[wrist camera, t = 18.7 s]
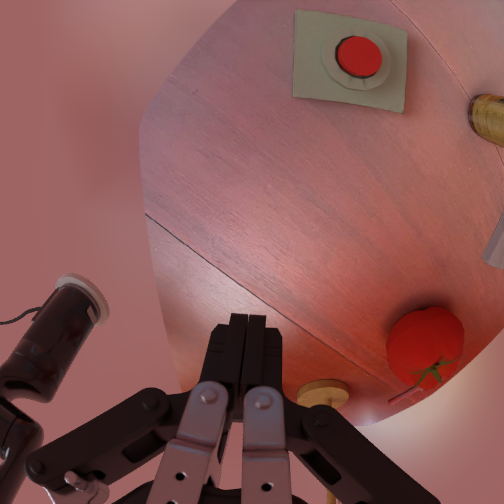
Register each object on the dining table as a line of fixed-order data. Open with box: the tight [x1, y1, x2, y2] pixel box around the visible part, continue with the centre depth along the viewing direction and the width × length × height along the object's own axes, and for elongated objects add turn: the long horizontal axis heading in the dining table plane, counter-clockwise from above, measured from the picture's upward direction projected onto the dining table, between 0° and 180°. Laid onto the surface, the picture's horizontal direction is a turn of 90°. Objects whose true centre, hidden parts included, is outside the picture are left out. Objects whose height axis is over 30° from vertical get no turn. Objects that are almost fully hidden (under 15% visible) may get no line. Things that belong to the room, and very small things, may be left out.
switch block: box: [292, 10, 407, 114], centre depth 22 cm, size 12×10×4 cm
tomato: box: [386, 307, 464, 390], centre depth 37 cm, size 13×14×12 cm
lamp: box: [297, 379, 349, 504], centre depth 42 cm, size 18×11×29 cm, turn 89°
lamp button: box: [337, 36, 382, 76], centre depth 20 cm, size 4×4×2 cm
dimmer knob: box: [232, 402, 244, 422], centre depth 52 cm, size 5×2×5 cm, turn 100°
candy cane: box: [388, 386, 423, 406], centre depth 52 cm, size 6×15×2 cm, turn 141°
